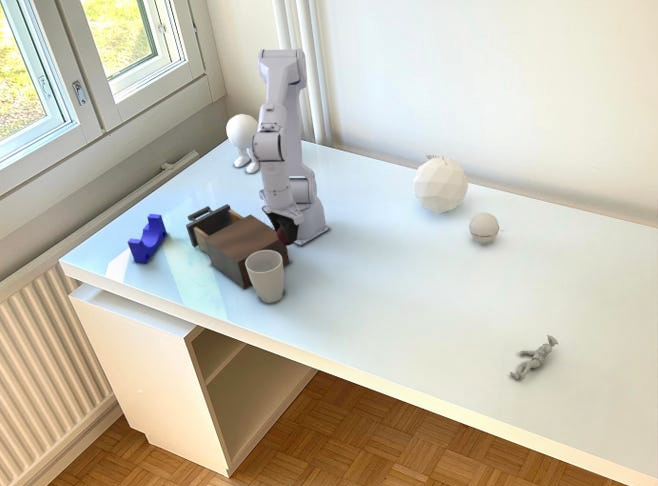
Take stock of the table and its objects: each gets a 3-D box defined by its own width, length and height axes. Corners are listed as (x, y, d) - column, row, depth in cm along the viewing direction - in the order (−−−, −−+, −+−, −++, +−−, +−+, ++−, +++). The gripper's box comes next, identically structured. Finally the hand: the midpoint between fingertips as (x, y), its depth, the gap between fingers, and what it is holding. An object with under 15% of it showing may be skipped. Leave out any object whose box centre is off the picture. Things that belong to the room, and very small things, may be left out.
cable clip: (151, 232, 188) (144, 213, 184) (167, 234, 187) (160, 214, 183) (129, 261, 180) (121, 241, 176) (146, 263, 179) (138, 243, 175)
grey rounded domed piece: (463, 244, 181) (463, 219, 175) (476, 228, 185) (477, 203, 180) (500, 255, 177) (502, 230, 172) (513, 238, 182) (514, 213, 176)
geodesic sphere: (390, 185, 189) (414, 156, 177) (426, 162, 197) (451, 132, 185) (426, 231, 190) (453, 205, 178) (460, 206, 198) (488, 180, 185)
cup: (295, 288, 171) (288, 253, 164) (279, 310, 165) (271, 275, 158) (263, 281, 173) (256, 247, 166) (247, 303, 167) (238, 268, 160)
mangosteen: (290, 234, 171) (287, 218, 167) (300, 241, 168) (297, 225, 165) (275, 241, 169) (271, 225, 166) (285, 249, 166) (282, 233, 163)
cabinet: (212, 265, 178) (204, 238, 172) (256, 240, 184) (250, 214, 179) (244, 289, 171) (237, 262, 165) (289, 262, 178) (284, 236, 172)
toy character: (228, 166, 210) (216, 117, 199) (252, 153, 215) (242, 105, 204) (249, 177, 206) (238, 127, 195) (273, 163, 210) (263, 114, 200)
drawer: (181, 238, 185) (175, 217, 180) (221, 217, 191) (216, 196, 186) (220, 266, 176) (214, 245, 172) (261, 243, 182) (256, 223, 177)
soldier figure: (501, 373, 151) (530, 329, 154) (517, 388, 152) (546, 343, 156) (521, 371, 144) (552, 325, 147) (538, 387, 145) (568, 340, 149)
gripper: (243, 178, 160) (254, 230, 170) (280, 205, 152) (290, 258, 162) (270, 166, 163) (280, 217, 173) (307, 192, 155) (316, 244, 165)
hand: (286, 236), depth 168 cm, fingers closed on mangosteen, 4 cm apart
